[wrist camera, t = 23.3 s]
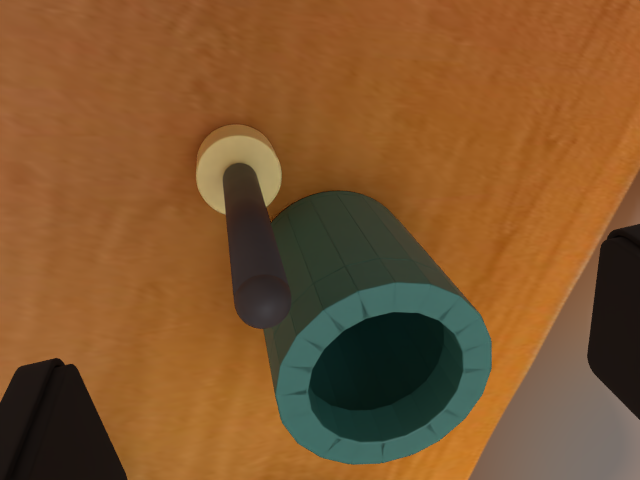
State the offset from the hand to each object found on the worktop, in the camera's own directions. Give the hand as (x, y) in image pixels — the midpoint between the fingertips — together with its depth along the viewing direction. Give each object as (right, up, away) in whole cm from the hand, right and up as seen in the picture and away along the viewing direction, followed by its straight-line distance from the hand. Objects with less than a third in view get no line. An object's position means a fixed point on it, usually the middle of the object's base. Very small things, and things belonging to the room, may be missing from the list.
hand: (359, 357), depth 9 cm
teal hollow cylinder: (0, 0, +29) cm, 29 cm away
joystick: (-6, +7, +24) cm, 26 cm away
